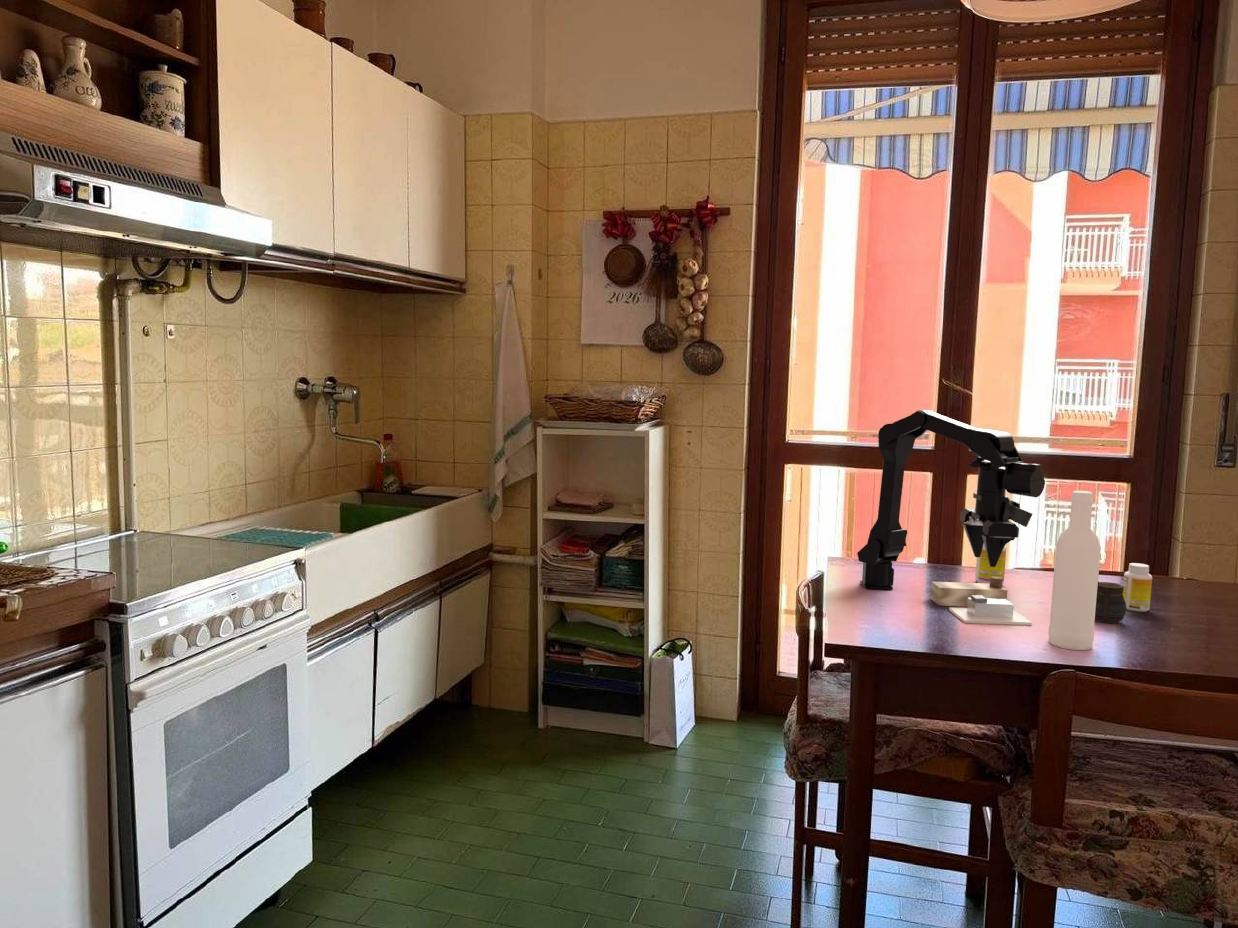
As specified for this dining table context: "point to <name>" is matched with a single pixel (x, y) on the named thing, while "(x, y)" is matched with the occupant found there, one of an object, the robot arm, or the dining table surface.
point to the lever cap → (989, 607)
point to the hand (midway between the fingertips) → (984, 561)
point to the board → (969, 618)
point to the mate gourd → (1110, 602)
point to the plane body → (966, 591)
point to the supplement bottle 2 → (1137, 587)
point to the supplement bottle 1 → (985, 570)
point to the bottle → (1075, 579)
